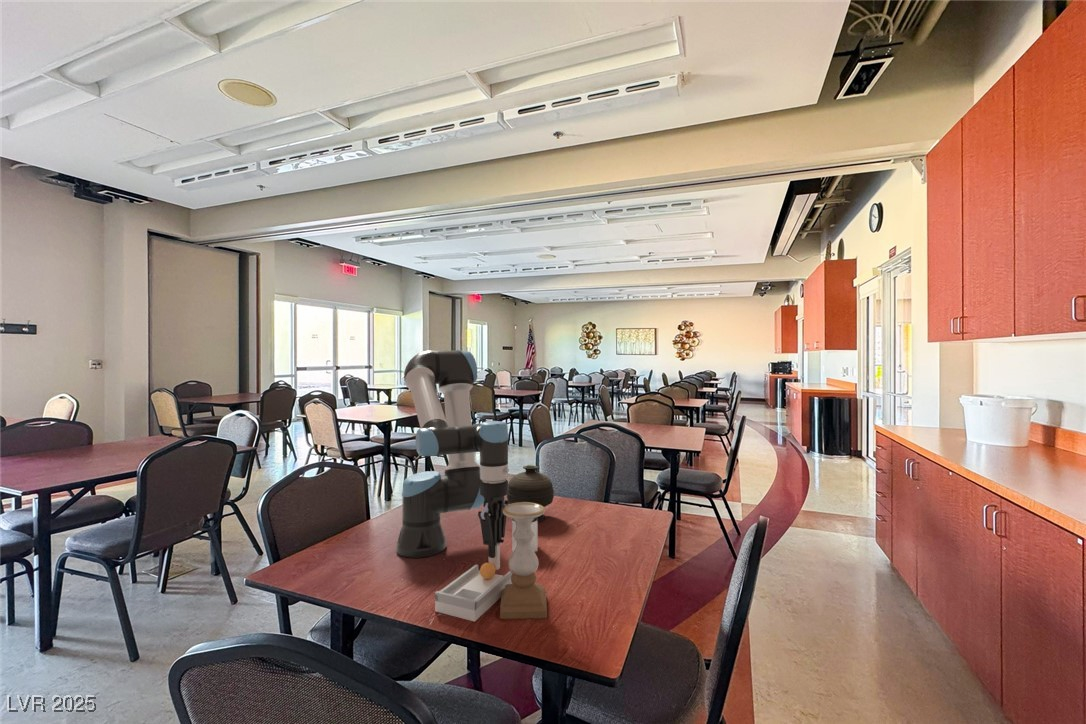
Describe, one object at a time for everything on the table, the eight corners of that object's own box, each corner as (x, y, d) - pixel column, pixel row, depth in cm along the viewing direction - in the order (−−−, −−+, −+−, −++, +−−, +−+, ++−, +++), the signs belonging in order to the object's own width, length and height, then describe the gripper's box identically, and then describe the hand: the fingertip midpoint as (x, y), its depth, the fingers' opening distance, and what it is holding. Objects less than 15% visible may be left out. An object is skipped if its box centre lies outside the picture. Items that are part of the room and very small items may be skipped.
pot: (519, 505, 191) (522, 457, 190) (559, 516, 183) (563, 465, 182) (495, 520, 175) (499, 467, 174) (538, 532, 167) (542, 477, 166)
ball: (477, 580, 123) (477, 564, 123) (485, 573, 127) (485, 558, 127) (490, 583, 121) (490, 567, 121) (498, 576, 125) (498, 561, 125)
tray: (435, 611, 112) (435, 592, 112) (475, 579, 129) (475, 562, 129) (474, 621, 108) (474, 601, 108) (511, 587, 124) (511, 569, 124)
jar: (519, 556, 144) (519, 517, 144) (506, 547, 151) (506, 509, 150) (543, 550, 149) (543, 511, 149) (530, 541, 155) (530, 505, 155)
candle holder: (545, 595, 120) (545, 501, 120) (547, 618, 109) (547, 515, 109) (502, 595, 120) (502, 501, 120) (499, 619, 109) (499, 515, 109)
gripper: (494, 487, 119) (494, 580, 119) (517, 475, 131) (517, 560, 131) (468, 484, 122) (469, 575, 122) (493, 473, 134) (493, 556, 134)
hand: (494, 567), depth 127 cm, fingers closed
